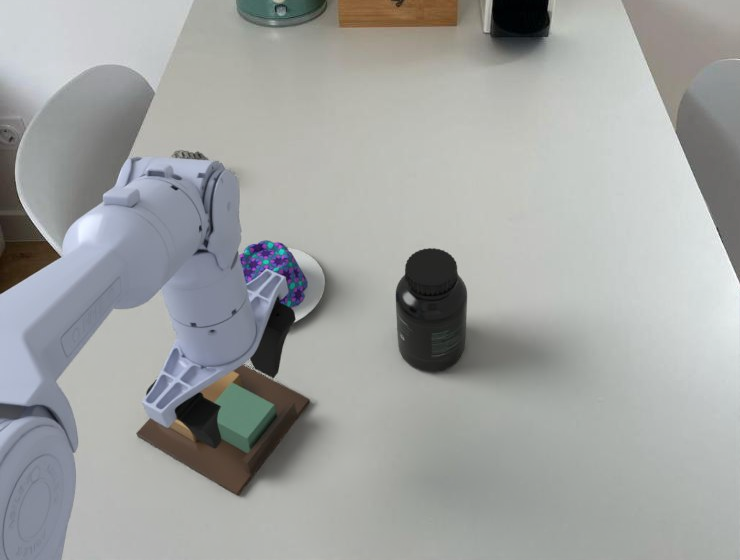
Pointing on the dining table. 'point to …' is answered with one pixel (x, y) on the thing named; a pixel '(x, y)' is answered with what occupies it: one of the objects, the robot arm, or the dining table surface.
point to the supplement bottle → (431, 311)
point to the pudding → (287, 273)
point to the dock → (225, 460)
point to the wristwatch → (188, 155)
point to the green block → (243, 417)
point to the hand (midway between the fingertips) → (238, 404)
